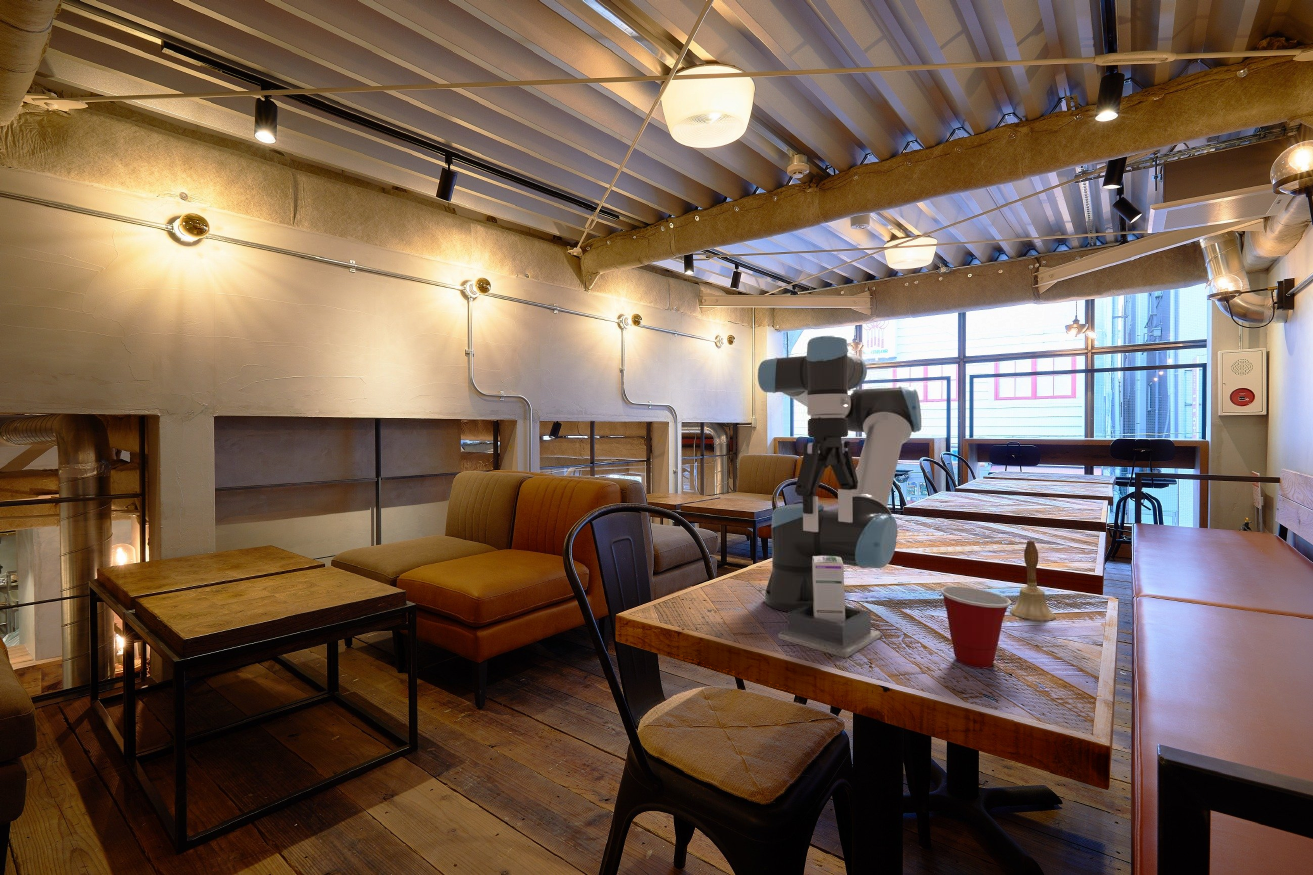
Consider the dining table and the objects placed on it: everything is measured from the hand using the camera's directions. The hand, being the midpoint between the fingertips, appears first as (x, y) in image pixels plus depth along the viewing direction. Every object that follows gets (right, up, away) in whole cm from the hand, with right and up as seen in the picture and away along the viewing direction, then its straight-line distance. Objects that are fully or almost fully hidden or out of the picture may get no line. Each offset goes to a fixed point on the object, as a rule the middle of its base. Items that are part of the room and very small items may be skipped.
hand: (828, 526), depth 112 cm
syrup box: (0, -21, 0) cm, 21 cm away
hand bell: (+48, -21, +12) cm, 53 cm away
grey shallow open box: (0, -22, 0) cm, 22 cm away
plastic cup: (+22, -22, -12) cm, 33 cm away
